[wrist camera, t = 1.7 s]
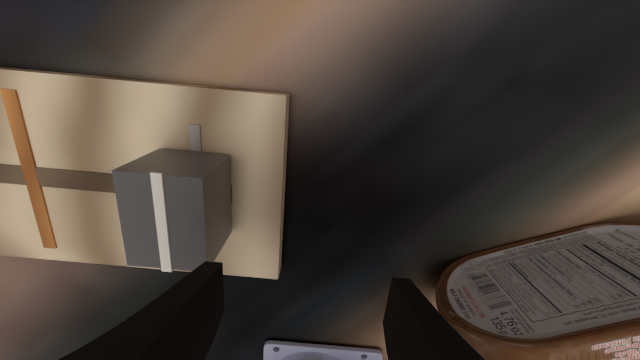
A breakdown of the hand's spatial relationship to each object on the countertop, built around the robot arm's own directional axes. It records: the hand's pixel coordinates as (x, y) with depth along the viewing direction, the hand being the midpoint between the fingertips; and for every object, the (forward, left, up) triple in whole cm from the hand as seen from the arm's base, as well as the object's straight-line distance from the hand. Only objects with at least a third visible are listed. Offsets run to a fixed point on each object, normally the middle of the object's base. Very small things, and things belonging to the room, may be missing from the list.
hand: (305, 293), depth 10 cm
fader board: (+13, 0, -9) cm, 16 cm away
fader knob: (+7, 0, -8) cm, 10 cm away
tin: (-15, +3, -10) cm, 18 cm away
